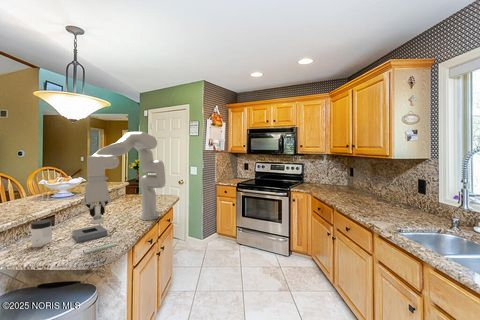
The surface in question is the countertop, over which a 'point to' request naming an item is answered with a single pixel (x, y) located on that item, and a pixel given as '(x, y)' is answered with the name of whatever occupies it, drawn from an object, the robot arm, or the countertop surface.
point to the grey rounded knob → (97, 215)
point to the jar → (41, 232)
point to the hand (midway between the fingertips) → (97, 215)
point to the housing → (89, 233)
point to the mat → (99, 248)
